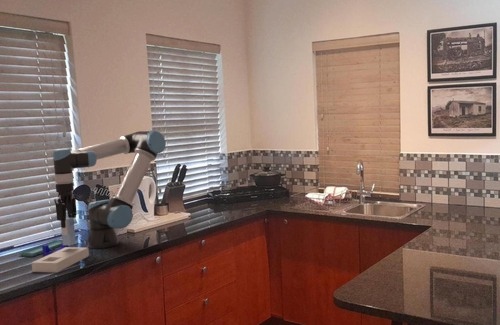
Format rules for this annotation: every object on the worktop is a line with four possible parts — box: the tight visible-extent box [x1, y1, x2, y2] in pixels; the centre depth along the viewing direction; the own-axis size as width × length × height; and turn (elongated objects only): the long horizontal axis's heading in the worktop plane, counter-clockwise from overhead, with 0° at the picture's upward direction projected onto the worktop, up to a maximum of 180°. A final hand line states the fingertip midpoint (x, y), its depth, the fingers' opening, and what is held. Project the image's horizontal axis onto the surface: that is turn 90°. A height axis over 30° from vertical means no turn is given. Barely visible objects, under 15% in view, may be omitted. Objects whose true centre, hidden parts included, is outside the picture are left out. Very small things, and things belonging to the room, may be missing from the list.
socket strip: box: [31, 246, 90, 274], centre depth 218 cm, size 24×12×5 cm, turn 166°
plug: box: [60, 217, 76, 246], centre depth 223 cm, size 4×5×12 cm
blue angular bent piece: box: [41, 243, 70, 257], centre depth 237 cm, size 12×4×6 cm, turn 142°
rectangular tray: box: [18, 239, 62, 258], centre depth 249 cm, size 26×9×2 cm, turn 160°
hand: (68, 233), depth 223 cm, fingers closed on plug, 4 cm apart
